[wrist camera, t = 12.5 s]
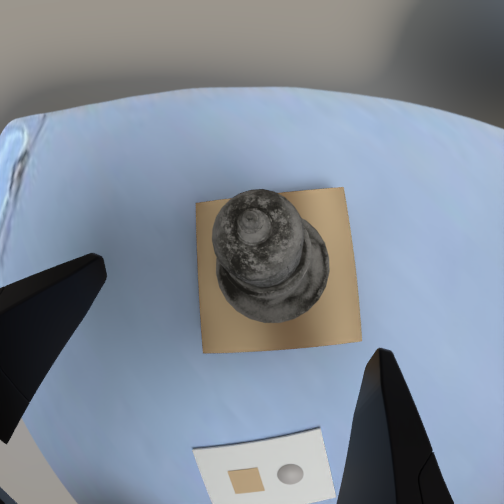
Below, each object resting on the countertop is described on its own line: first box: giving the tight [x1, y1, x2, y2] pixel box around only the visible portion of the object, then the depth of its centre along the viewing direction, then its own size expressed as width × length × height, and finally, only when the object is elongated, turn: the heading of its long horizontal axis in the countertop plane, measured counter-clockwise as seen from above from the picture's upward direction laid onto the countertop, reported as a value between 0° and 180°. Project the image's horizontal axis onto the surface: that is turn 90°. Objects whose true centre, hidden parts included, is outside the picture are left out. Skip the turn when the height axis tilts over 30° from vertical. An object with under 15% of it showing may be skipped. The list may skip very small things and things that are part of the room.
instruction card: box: [192, 428, 336, 504], centre depth 19 cm, size 10×7×1 cm
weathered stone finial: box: [212, 189, 330, 323], centre depth 14 cm, size 6×6×12 cm
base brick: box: [196, 187, 362, 353], centre depth 21 cm, size 10×10×3 cm
